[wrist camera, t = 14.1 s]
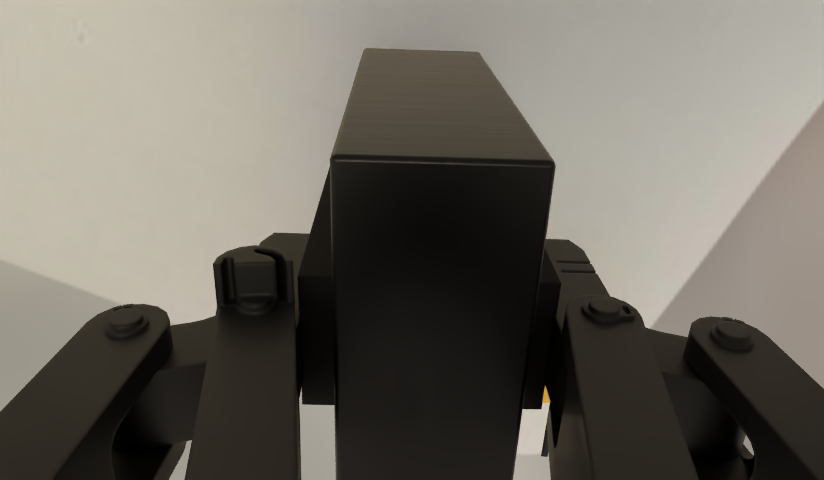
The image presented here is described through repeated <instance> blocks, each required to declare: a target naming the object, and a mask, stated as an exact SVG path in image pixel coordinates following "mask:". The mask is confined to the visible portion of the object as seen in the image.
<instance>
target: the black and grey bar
mask: <svg viewBox="0 0 824 480" xmlns="http://www.w3.org/2000/svg"><path fill="white" fill-rule="evenodd" d="M555 167H556V166H555V162H554V160H553V159H552V157H551V156H550V155H549V153H548V152H547V150H546V149H545V147H544V146H543V144H542V143H541V142H540V140H539V139H538V137H537V136H536V134H535V133H534V131H533V130H532V129H531V127H530V126H529V124H528V123H527V121H526V120H525V118H524V117H523V116H522V114H521V113H520V111H519V110H518V108H517V107H516V105H515V104H514V103H513V101H512V100H511V98H510V97H509V95H508V94H507V92H506V91H505V89H504V88H503V87H502V85H501V84H500V82H499V81H498V79H497V78H496V76H495V75H494V74H493V72H492V71H491V69H490V68H489V66H488V65H487V63H486V62H485V61H484V59H483V58H482V56H481V55H480V53H478V52H464V51H435V50H406V49H376V48H366V49H364V51H363V54H362V57H361V60H360V64H359V67H358V70H357V73H356V77H355V80H354V83H353V86H352V90H351V93H350V96H349V99H348V103H347V106H346V109H345V112H344V116H343V119H342V122H341V125H340V128H339V132H338V135H337V138H336V141H335V145H334V148H333V151H332V154H331V158H330V192H331V244H332V297H333V350H334V402H335V451H336V452H335V453H336V454H335V455H336V480H513V474H514V466H515V459H516V452H517V445H518V437H519V430H520V423H521V415H522V408H523V401H524V393H525V386H526V379H527V372H528V364H529V357H530V350H531V342H532V335H533V328H534V320H535V313H536V306H537V298H538V291H539V284H540V276H541V269H542V262H543V255H544V247H545V240H546V233H547V225H548V218H549V211H550V203H551V196H552V189H553V181H554V174H555Z"/></svg>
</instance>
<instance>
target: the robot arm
mask: <svg viewBox="0 0 824 480" xmlns="http://www.w3.org/2000/svg"><path fill="white" fill-rule="evenodd" d="M213 269H214V279H215V289H216V299H217V311H216V316H213V317H211V318H208V319H205V320H201V321H196V322H191V323H185V324H178V325H172V326H170V320H169V317H168V315H167V312H166V311H164V310H162V309H161V308H159V307H156V306H151V305H146V304H127V305H123V306H117V307H114V308H112V309H109V310H107V311H104V312H102V313H100V314H98V315H96V316H95V317H94V318H92V319H91V320H90V321H88V322H87V323H86V324H85V325H84V326H83V327H82V328H81V329H80V330H79V331H78V332H77V333H76V334H75V335H74V336H73V337H72V338H71V339H70V340H69V341H68V343H67V344H66V345H65V346H64V347H63V348H62V349H61V350H60V351H59V352H58V353H57V354H56V355H55V356H54V357H53V358H52V359H51V360H50V361H49V362H48V363H47V364H46V365H45V366H44V367H43V368H42V369H41V371H39V372H38V374H36V375H35V377H34V378H33V379H32V380H31V381H30V382H29V383H28V384H27V385H26V386H25V387H24V388H23V389H22V390H21V391H20V392H19V393H18V394H17V395H16V396H15V397H14V398H13V399H12V400H11V401H10V402H9V403H8V404H7V405H6V407H5V408H4V409H3V410H2V411H1V412H0V480H169V478H170V476H171V474H172V472H173V470H174V469H175V467H176V465H177V463H178V461H179V459H180V457H181V456H182V454H183V452H184V449H185V445H186V441H189V440H192V443H191V449H190V454H189V459H188V464H187V470H186V475H185V480H301V455H300V453H301V452H300V413H299V397H300V392H301V387H302V404H311V405H335V402H334V350H333V297H332V244H331V192H330V168H329V171H328V174H327V178H326V181H325V185H324V188H323V191H322V195H321V198H320V201H319V205H318V208H317V212H316V215H315V218H314V222H313V225H312V229H311V232H310V234H300V233H273V234H272V235H270V236H269V237H268V238H266V239H265V240H263V241H262V242H261V243H260V245H259V246H256V245H255V246H247V247H240V248H236V249H233V250H230V251H227V252H225V253H224V254H222V255H220V256H219V257H217V259H216V260H215V262H214V263H213ZM545 386H546V389H547V393H548V396H549V399H550V406H549V412H548V418H547V424H546V430H545V436H544V442H543V448H542V454H541V456H545V457H546V456H548V452H549V462H550V474H551V480H824V389H823V388H822V387H821V386H820V385H819V384H818V383H817V382H816V381H815V380H813V379H812V378H811V377H810V376H809V375H808V374H807V373H806V372H805V371H804V370H803V369H802V368H801V367H800V366H799V365H797V364H796V363H795V362H794V361H793V360H792V359H791V358H790V357H789V356H788V355H787V354H786V353H784V351H783V350H782V349H780V348H779V347H778V346H777V345H776V344H775V343H774V342H773V341H772V340H771V339H770V338H769V337H768V336H766V335H765V334H764V333H762V332H761V331H759V330H758V329H757V328H754V327H752V326H750V325H747V324H745V323H744V322H742V321H740V320H736V319H735V320H732V318H727V317H721V318H720V317H705V318H699V319H697V320H696V321H694V322H693V323H692V324H691V328H690V331H689V335H688V337H683V336H679V335H674V334H669V333H664V332H659V331H656V330H652V329H648V328H646V327H645V325H644V322H643V320H642V317H641V315H640V314H639V313H638V311H637V310H636V309H635V308H634V307H632V306H631V305H629V304H628V303H626V302H624V301H621V300H619V299H616V298H614V297H610V295H609V294H608V292H607V290H606V288H605V287H604V285H603V283H602V282H601V280H600V278H599V276H598V275H597V274H595V269H594V268H593V266H592V264H590V261H589V259H588V257H587V256H586V254H585V252H584V251H583V250H582V249H581V248H579V247H578V246H577V245H575V244H574V243H572V242H571V241H569V240H558V239H546V240H545V247H544V255H543V262H542V269H541V276H540V284H539V291H538V298H537V306H536V313H535V320H534V328H533V335H532V342H531V350H530V357H529V364H528V372H527V379H526V386H525V393H524V401H523V408H522V409H541V408H542V401H543V395H544V389H545ZM746 435H747V437H748V438H749V440H750V442H751V445H752V448H753V451H754V456H753V455H752V454H751V453H750V452H749V451H748V449H747V448H746V447H745V446H744V445H743V442H744V439H745V436H746Z"/></svg>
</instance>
